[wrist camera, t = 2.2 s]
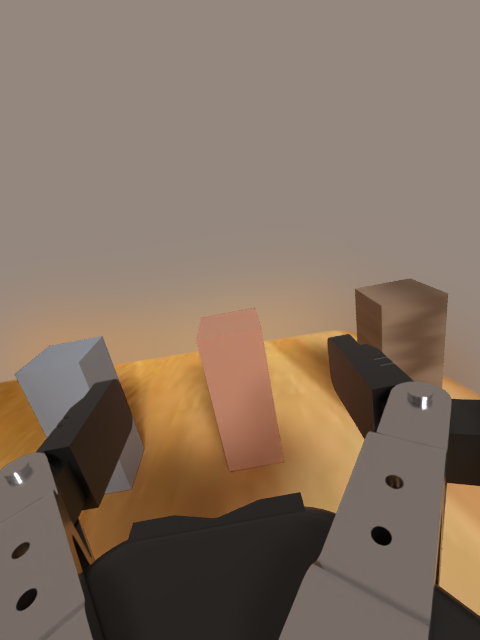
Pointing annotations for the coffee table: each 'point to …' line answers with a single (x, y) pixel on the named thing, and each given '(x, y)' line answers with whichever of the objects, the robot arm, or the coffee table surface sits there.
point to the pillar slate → (76, 394)
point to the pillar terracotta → (240, 388)
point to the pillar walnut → (405, 326)
